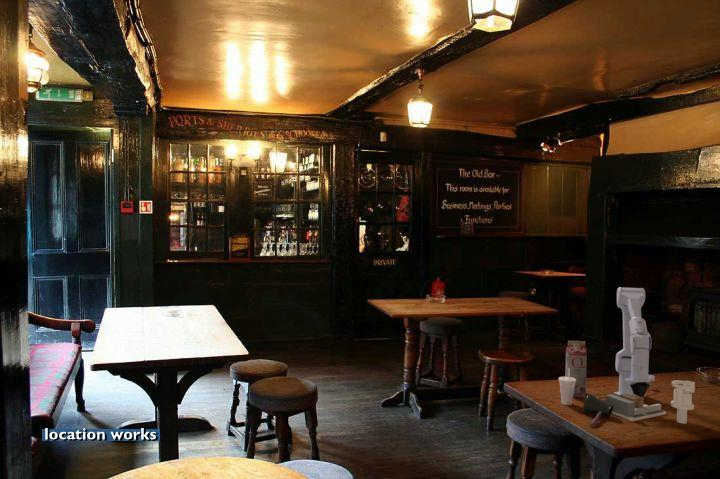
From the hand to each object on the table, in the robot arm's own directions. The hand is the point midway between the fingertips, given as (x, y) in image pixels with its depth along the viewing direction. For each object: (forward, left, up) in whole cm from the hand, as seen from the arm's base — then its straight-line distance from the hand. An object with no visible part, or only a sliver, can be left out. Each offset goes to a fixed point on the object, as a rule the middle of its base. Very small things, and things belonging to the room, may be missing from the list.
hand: (638, 401), depth 204 cm
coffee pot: (+22, -1, -4) cm, 23 cm away
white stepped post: (-4, +14, -4) cm, 15 cm away
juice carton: (+7, -24, -4) cm, 25 cm away
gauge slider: (+4, +2, -2) cm, 5 cm away
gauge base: (+3, 0, -3) cm, 4 cm away
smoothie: (+19, -17, -4) cm, 26 cm away
